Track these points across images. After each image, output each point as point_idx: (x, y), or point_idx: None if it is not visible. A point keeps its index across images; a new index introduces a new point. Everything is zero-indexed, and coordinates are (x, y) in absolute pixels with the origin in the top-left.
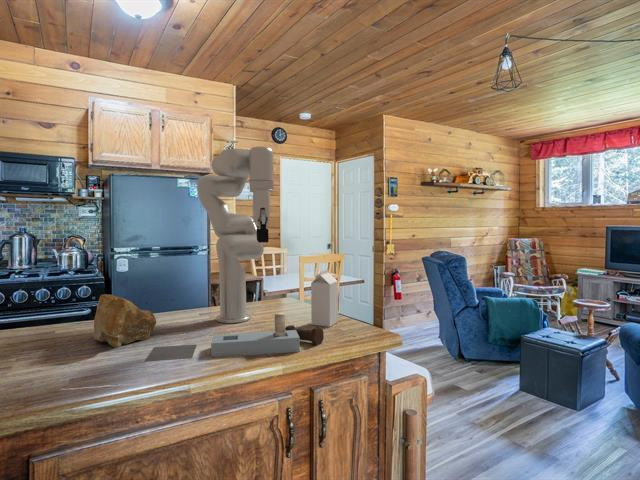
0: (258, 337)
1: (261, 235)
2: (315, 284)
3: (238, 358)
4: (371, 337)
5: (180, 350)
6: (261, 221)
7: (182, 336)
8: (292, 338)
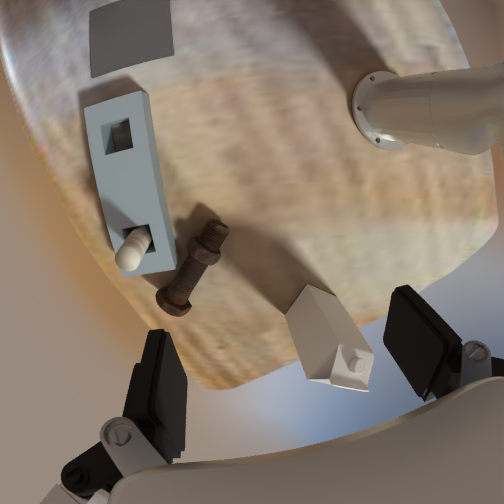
0: (118, 197)
1: (132, 387)
2: (329, 350)
3: None
4: (213, 366)
5: (136, 38)
6: (66, 484)
7: (252, 11)
8: None
